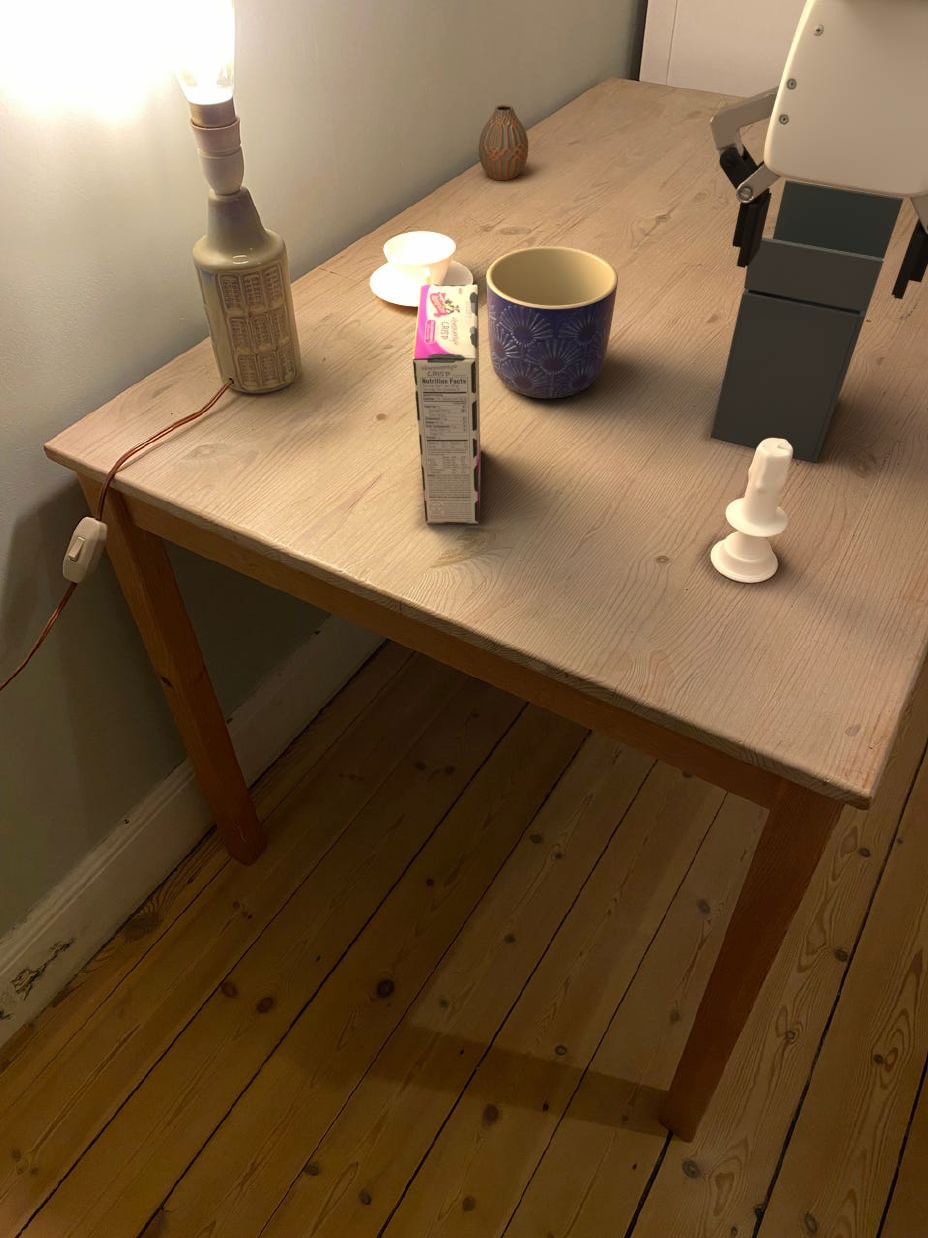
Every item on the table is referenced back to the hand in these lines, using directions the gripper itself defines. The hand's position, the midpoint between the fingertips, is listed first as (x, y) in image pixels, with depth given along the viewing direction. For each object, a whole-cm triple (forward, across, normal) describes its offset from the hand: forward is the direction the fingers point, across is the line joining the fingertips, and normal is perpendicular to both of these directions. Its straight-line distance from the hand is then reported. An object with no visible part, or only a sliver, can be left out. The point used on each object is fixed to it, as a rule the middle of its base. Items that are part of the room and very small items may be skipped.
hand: (821, 273), depth 58 cm
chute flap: (+6, +2, -13) cm, 15 cm away
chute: (+24, +2, -19) cm, 31 cm away
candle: (+24, 0, +2) cm, 24 cm away
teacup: (+24, +46, -27) cm, 58 cm away
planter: (+24, +25, -17) cm, 38 cm away
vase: (+24, +52, -62) cm, 84 cm away
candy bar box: (+24, +26, +3) cm, 35 cm away
